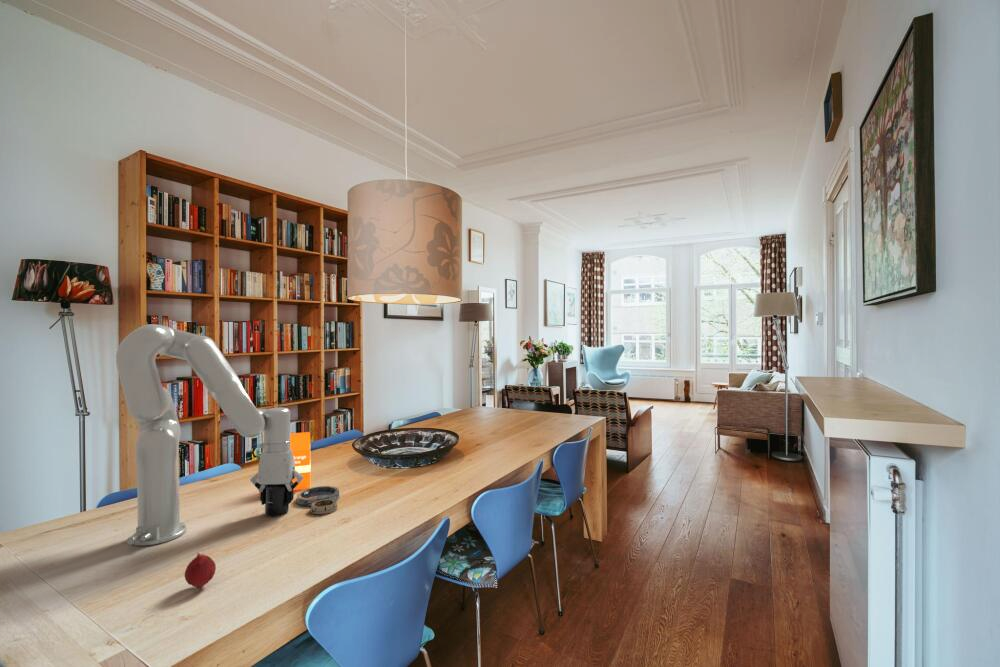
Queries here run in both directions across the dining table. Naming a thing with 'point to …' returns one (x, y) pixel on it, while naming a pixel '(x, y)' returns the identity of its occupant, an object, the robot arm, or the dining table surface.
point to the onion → (200, 570)
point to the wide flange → (317, 495)
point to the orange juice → (301, 457)
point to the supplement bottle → (276, 500)
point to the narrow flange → (324, 507)
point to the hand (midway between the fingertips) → (277, 502)
